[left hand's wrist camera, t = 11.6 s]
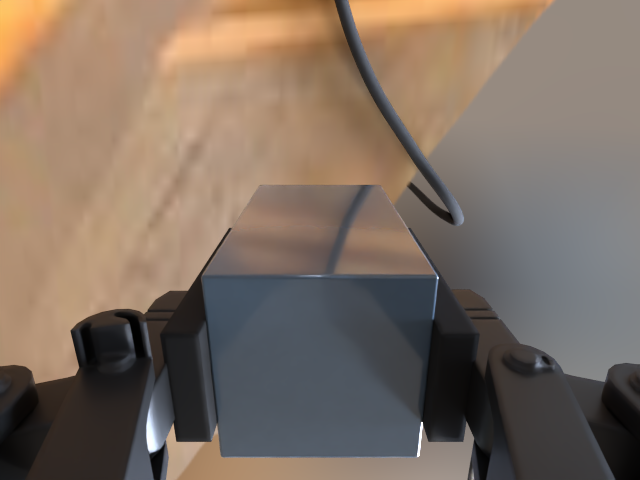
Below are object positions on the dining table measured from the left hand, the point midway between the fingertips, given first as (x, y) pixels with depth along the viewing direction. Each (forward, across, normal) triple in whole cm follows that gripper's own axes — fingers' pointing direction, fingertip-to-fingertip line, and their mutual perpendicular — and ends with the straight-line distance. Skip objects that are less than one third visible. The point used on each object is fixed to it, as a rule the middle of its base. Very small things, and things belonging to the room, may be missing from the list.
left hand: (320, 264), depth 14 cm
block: (+2, 0, 0) cm, 2 cm away
